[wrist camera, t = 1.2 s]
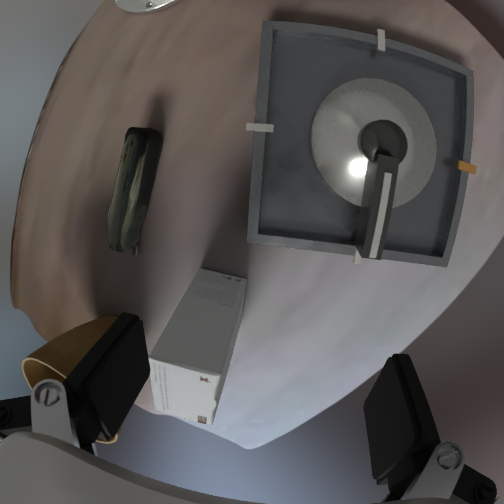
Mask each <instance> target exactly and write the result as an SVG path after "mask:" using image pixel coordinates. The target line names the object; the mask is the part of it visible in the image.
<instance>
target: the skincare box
mask: <svg viewBox="0 0 504 504" xmlns="http://www.w3.org/2000/svg"><path fill="white" fill-rule="evenodd" d="M246 284H247V279H245V278H240V277H235V276H231V275H227V274H223V273H219V272H215V271H211V270H207V269H203V268H201V269H199V271H198V272H197V274H196V276H195V277H194V279H193V281H192V282H191V284H190V286H189V288H188V289H187V291H186V293H185V294H184V296H183V298H182V299H181V301H180V303H179V305H178V306H177V308H176V310H175V312H174V313H173V315H172V317H171V319H170V320H169V322H168V324H167V326H166V328H165V329H164V331H163V333H162V335H161V336H160V338H159V340H158V342H157V343H156V345H155V347H154V349H153V350H152V352H151V354H150V356H149V357H148V358H149V363H150V379H151V386H152V393H153V399H154V405H155V409H156V410H158V411H160V412H163V413H166V414H170V415H173V416H177V417H180V418H184V419H188V420H191V421H195V422H199V423H204V424H208V425H212V424H213V421H214V417H215V414H216V410H217V407H218V403H219V400H220V396H221V393H222V389H223V386H224V382H225V379H226V375H227V372H228V368H229V365H230V361H231V357H232V354H233V350H234V346H235V342H236V338H237V335H238V331H239V327H240V322H241V317H242V310H243V304H244V297H245V289H246Z"/></svg>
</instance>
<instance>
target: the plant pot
mask: <svg viewBox="0 0 504 504" xmlns="http://www.w3.org/2000/svg"><path fill="white" fill-rule="evenodd" d="M117 318H118V317H117V316H113V315H108V316H105V317H101V318H98V319H95V320H92V321H90V322H87V323H85V324H82V325H80V326H78V327H76V328H73V329H71V330H69V331H67V332H65V333H64V334H62V335H60V336H58V337H56V338H55V339H53V340H51V341H50V342H48V343H46V344H45V345H43V346H42V347H40V348H39V349H38V350H36V351H35V352H33V353H32V354H30V355H29V356H27V357H26V358H25V359H24V360H23V361H22V370H23V373H24V376H25V378H26V381H27V382H28V384H29V386H30V388H31V389H33V387H34V386H35V385H36V384H37V383H38V382H40V381H42V380H46V379H54V380H57V381H59V382H60V383H63V382H64V380H65V379H66V378H67V377H68V375H69V374H70V373H71V372H72V371H73V369H74V368H75V367H76V366H77V364H78V363H79V362H80V361H81V360H82V358H83V357H84V356H85V355H86V354H87V353H88V351H89V350H90V349H91V348H92V347H93V345H94V344H95V343H96V342H97V341H98V340H99V339H100V338H101V337H102V335H103V334H104V333H105V332H106V331H107V330H108V329H109V327H110V326H111V325H112V324H113V323H114V322H115V321H116V320H117ZM122 424H123V423H122ZM121 427H122V425H121ZM121 427H120V428H119V430H118V432H117V434H116V435H115V436H114V437H110V439H109V441H108V442H107V441H104V440H102V439H100V438H97V439H96V441H98V442H101V443H114V442H115V441H116V440H117V439H118V435H119V433H120V430H121Z"/></svg>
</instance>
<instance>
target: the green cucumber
mask: <svg viewBox="0 0 504 504" xmlns="http://www.w3.org/2000/svg"><path fill="white" fill-rule="evenodd" d="M162 141H163V140H162V136H161V134H160V133H159V132H158V131H156V130H153V129H150V128H138V127H131V128H129V129H128V131H127V133H126V135H125V142H124V147H123V151H122V156H121V160H120V165H119V168H118V173H117V179H116V185H115V190H114V194H113V197H112V201H111V205H110V209H109V212H108V216H107V225H106V229H107V234H108V244H109V247H110V248H112V249H114V250H116V251H119V252H125V251H127V250H128V249H129V248H131V247H132V246H133V254H134V255H137V254H138V250H139V239H140V231H141V227H142V222H143V220H144V218H145V216H146V213H147V208H148V203H149V197H150V193H151V189H152V186H153V182H154V178H155V173H156V168H157V164H158V161H159V157H160V153H161V149H162Z"/></svg>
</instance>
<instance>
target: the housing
mask: <svg viewBox="0 0 504 504" xmlns="http://www.w3.org/2000/svg"><path fill="white" fill-rule="evenodd" d="M363 78H375V79H381V80H385V81H388V82H391V83H394V84H396V85H398V86H400V87H401V88H403V89H405V90H406V91H407V92H409V93H410V94H411V95H412V96H413V97H414V98H415V99H416V100H417V101H418V102H419V103H420V104H421V106H422V107H423V108H424V110H425V111H426V113H427V115H428V117H429V119H430V121H431V123H432V126H433V129H434V133H435V138H436V160H435V165H434V169H433V172H432V174H431V176H430V179H429V181H428V182H427V184H426V185H425V187H424V188H423V189H422V190H421V192H420V193H419V194H418V195H416V196H415V197H414V198H413V199H411V200H410V201H408V202H407V203H405V204H403V205H401V206H398V207H395V208H392V211H391V216H390V221H389V226H388V231H387V236H386V240H385V245H384V249H383V253H382V257H381V259H386V260H394V261H402V262H410V263H418V264H426V265H434V266H441V267H447V265H448V262H449V259H450V255H451V252H452V248H453V245H454V241H455V237H456V233H457V229H458V225H459V221H460V217H461V212H462V207H463V202H464V197H465V192H466V186H467V180H468V173H472V174H475V173H476V166H475V165H472V164H470V157H471V148H472V136H473V118H474V78H473V70H471V69H468V68H466V67H464V66H462V65H460V64H458V63H455V62H453V61H451V60H448V59H446V58H444V57H441V56H439V55H436V54H433V53H431V52H428V51H425V50H423V49H420V48H417V47H414V46H411V45H408V44H404V43H401V42H398V41H394V40H391V39H387V38H385V30H381V29H377V36H376V35H371V34H367V33H363V32H358V31H353V30H348V29H342V28H337V27H330V26H323V25H316V24H307V23H297V22H283V21H263V23H262V36H261V48H260V61H259V74H258V87H257V101H256V114H255V123H246V131H254V142H253V156H252V170H251V184H250V199H249V214H248V228H247V243H252V244H261V245H270V246H278V247H287V248H296V249H304V250H313V251H321V252H329V253H338V254H346V255H354V260H353V263H354V264H361V260H362V258H361V256H360V254H359V252H358V251H357V249H356V247H355V245H354V242H355V236H356V231H357V226H358V220H359V214H360V208H361V207H360V206H358V205H355V204H353V203H351V202H349V201H347V200H345V199H344V198H343V197H341V196H340V195H339V194H337V193H336V192H335V191H334V190H333V189H332V188H331V187H330V186H329V184H328V183H327V182H326V181H325V180H324V178H323V177H322V175H321V174H320V172H319V170H318V168H317V166H316V164H315V161H314V159H313V155H312V151H311V144H310V132H311V126H312V122H313V119H314V116H315V114H316V111H317V109H318V108H319V106H320V105H321V103H322V102H323V101H324V99H325V98H326V97H327V96H328V95H329V94H330V93H331V92H332V91H333V90H334V89H336V88H337V87H339V86H341V85H342V84H344V83H347V82H349V81H352V80H356V79H363Z"/></svg>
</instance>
